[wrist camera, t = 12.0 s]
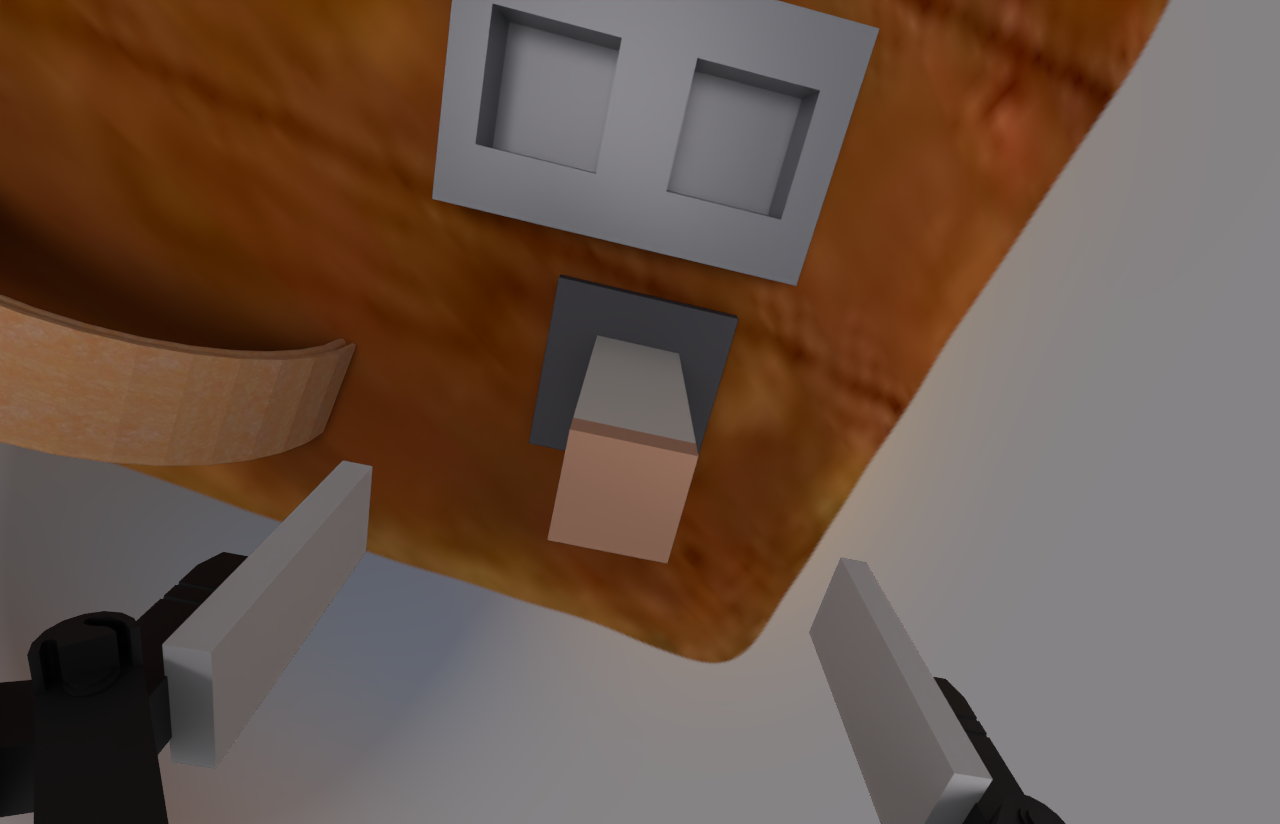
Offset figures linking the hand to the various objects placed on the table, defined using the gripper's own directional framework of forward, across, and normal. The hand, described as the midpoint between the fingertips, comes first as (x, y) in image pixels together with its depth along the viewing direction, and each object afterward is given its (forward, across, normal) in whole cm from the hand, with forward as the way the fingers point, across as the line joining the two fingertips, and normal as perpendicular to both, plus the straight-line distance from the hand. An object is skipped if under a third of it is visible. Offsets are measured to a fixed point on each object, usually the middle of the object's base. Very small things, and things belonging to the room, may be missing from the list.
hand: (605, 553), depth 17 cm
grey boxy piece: (+16, -1, +12) cm, 20 cm away
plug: (+15, +1, 0) cm, 15 cm away
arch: (+17, -24, -2) cm, 29 cm away
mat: (+16, +1, 0) cm, 16 cm away
